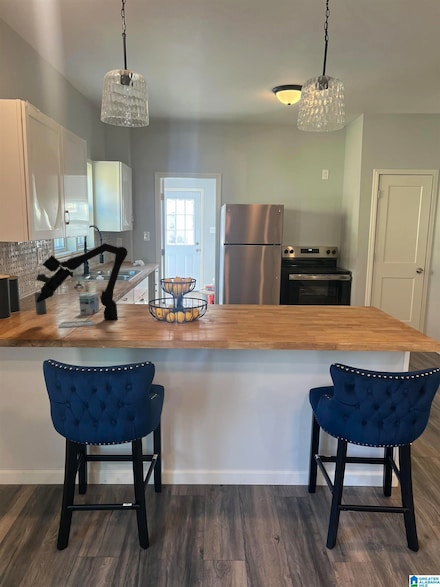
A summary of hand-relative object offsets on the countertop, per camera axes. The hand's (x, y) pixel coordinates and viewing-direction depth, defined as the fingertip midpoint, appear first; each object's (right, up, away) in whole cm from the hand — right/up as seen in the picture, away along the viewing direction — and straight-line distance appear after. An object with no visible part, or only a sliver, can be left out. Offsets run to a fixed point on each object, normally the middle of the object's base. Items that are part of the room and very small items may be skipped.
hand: (37, 301), depth 208 cm
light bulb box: (+17, -7, +31) cm, 36 cm away
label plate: (+19, -12, +2) cm, 23 cm away
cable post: (+1, -6, +1) cm, 7 cm away
